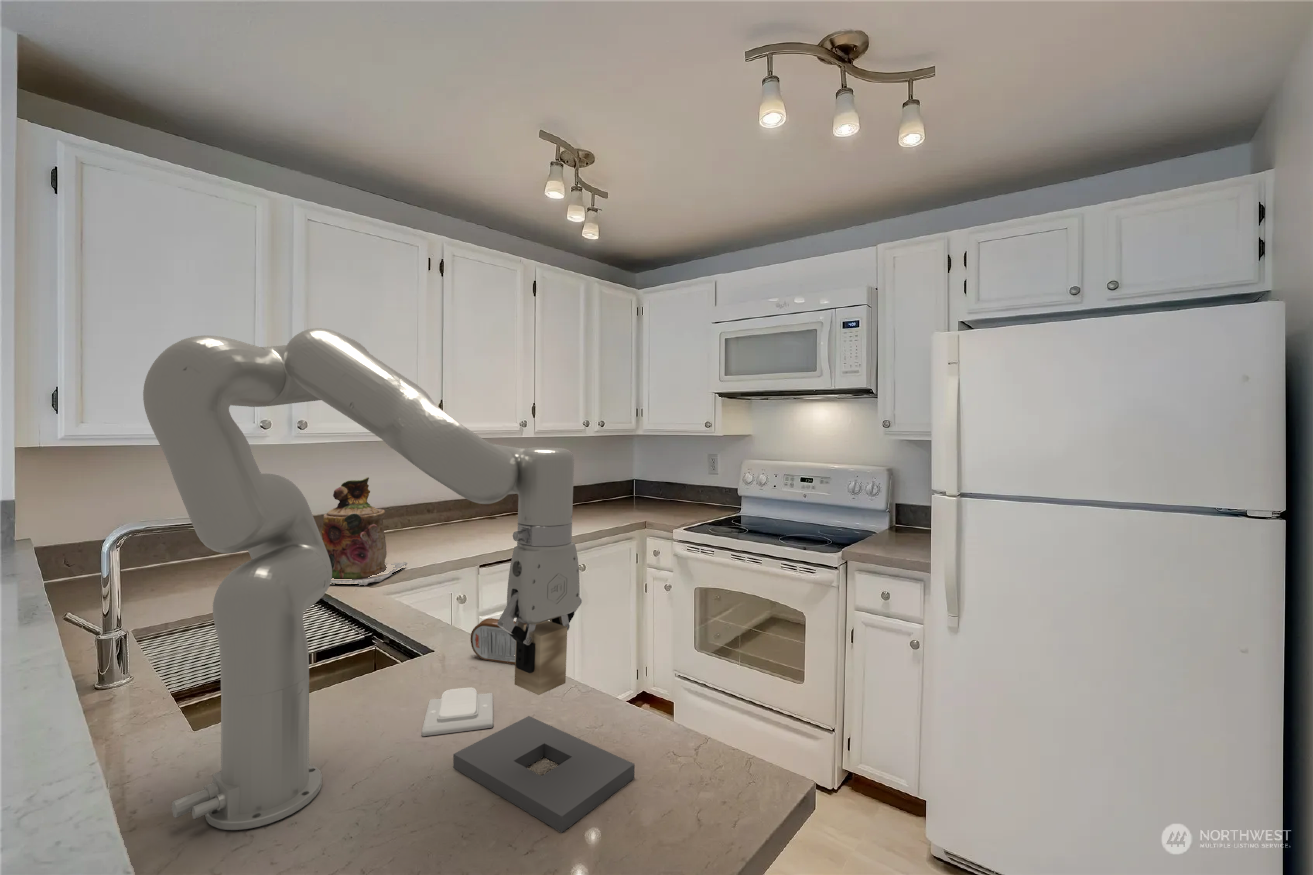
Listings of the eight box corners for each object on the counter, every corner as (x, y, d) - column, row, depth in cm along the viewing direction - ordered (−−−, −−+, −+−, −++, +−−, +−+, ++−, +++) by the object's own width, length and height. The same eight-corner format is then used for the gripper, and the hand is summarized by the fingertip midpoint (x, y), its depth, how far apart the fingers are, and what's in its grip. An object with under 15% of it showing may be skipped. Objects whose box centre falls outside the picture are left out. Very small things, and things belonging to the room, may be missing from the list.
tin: (540, 662, 121) (540, 622, 121) (532, 668, 118) (533, 627, 118) (476, 654, 125) (476, 615, 125) (467, 659, 122) (468, 619, 122)
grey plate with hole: (561, 832, 70) (561, 816, 70) (453, 767, 84) (453, 753, 84) (634, 777, 82) (634, 763, 82) (528, 728, 95) (528, 715, 95)
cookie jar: (339, 566, 201) (340, 473, 200) (410, 568, 200) (410, 474, 199) (292, 585, 176) (292, 480, 176) (372, 587, 175) (372, 481, 175)
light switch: (492, 678, 107) (493, 706, 95) (492, 701, 107) (493, 732, 95) (429, 684, 104) (421, 714, 92) (429, 708, 104) (421, 741, 92)
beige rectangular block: (538, 695, 79) (540, 636, 79) (514, 684, 82) (516, 627, 82) (565, 683, 83) (567, 626, 83) (541, 673, 86) (543, 619, 86)
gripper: (514, 547, 73) (509, 692, 73) (605, 531, 87) (601, 653, 87) (477, 539, 77) (473, 675, 78) (569, 525, 91) (565, 641, 91)
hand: (540, 662), depth 82 cm, fingers closed on beige rectangular block, 5 cm apart
